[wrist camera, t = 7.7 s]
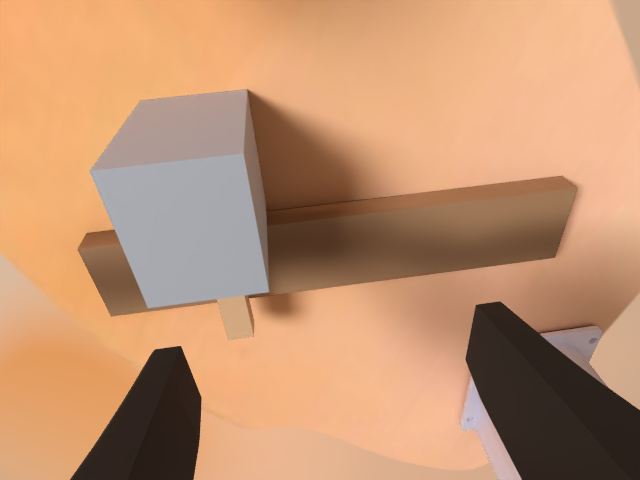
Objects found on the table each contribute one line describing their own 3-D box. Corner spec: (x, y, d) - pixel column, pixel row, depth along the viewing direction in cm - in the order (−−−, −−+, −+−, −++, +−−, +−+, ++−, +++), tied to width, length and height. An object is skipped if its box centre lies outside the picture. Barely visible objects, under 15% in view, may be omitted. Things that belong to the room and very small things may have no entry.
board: (541, 243, 22) (555, 258, 21) (117, 298, 21) (110, 317, 20) (562, 175, 20) (578, 188, 19) (86, 233, 19) (76, 250, 18)
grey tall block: (280, 292, 22) (287, 391, 17) (204, 302, 22) (189, 405, 17) (247, 89, 16) (243, 153, 11) (140, 100, 16) (89, 170, 11)
